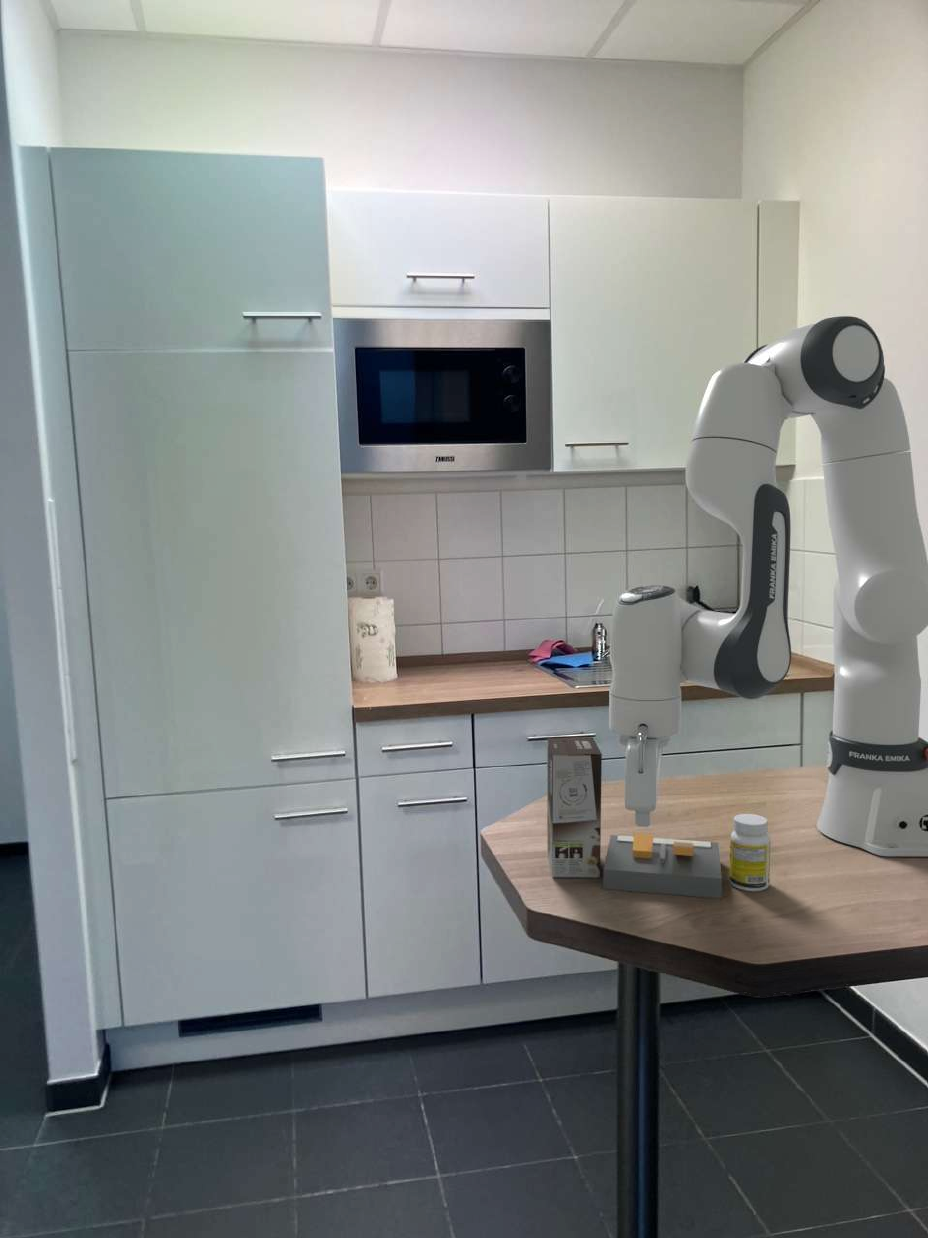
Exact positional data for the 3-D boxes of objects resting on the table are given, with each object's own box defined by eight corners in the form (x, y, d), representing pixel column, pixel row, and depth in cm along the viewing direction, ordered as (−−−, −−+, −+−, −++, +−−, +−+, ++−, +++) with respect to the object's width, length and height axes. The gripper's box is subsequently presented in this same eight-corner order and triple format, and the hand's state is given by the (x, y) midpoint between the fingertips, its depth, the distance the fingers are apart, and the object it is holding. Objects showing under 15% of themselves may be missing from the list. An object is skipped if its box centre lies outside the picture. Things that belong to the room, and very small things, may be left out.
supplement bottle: (741, 873, 118) (743, 809, 117) (776, 884, 115) (778, 818, 114) (721, 884, 115) (723, 819, 114) (757, 896, 111) (759, 828, 110)
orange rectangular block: (692, 850, 119) (692, 843, 119) (693, 856, 115) (693, 847, 115) (673, 849, 119) (673, 841, 119) (673, 854, 115) (673, 846, 115)
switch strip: (717, 860, 122) (718, 838, 122) (721, 898, 111) (722, 873, 110) (610, 852, 125) (610, 830, 125) (603, 888, 114) (603, 864, 113)
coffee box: (602, 878, 117) (603, 754, 115) (551, 878, 117) (551, 754, 115) (593, 851, 126) (594, 735, 124) (546, 851, 126) (546, 736, 124)
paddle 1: (653, 841, 120) (653, 834, 119) (652, 858, 116) (652, 851, 116) (634, 839, 120) (634, 833, 120) (632, 857, 117) (632, 850, 116)
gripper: (669, 738, 105) (667, 855, 107) (671, 700, 125) (669, 799, 127) (613, 735, 107) (611, 850, 108) (624, 698, 126) (623, 797, 128)
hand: (643, 823), depth 118 cm, fingers closed
